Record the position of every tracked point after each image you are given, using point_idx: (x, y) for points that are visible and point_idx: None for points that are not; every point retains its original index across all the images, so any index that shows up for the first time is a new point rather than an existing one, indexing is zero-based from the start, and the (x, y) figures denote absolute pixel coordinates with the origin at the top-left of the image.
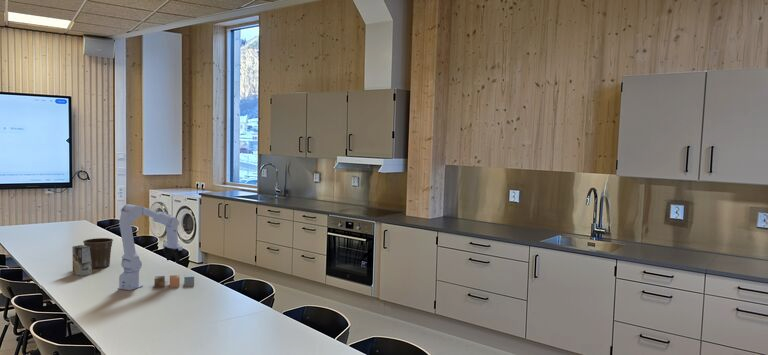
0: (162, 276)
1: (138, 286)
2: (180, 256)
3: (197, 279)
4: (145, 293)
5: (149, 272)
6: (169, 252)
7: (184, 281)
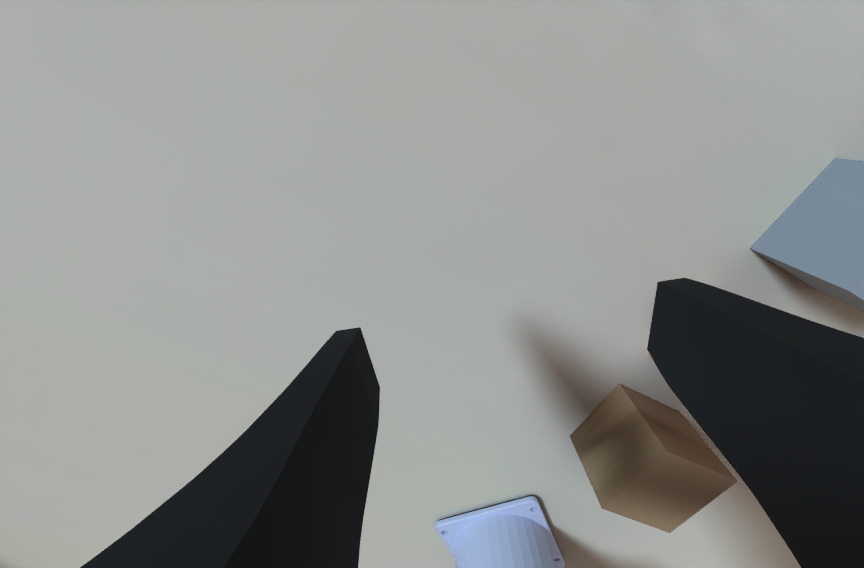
0: (667, 471)
1: (540, 523)
2: (856, 349)
3: (758, 9)
4: (694, 530)
5: (60, 289)
6: (313, 540)
7: (859, 308)
